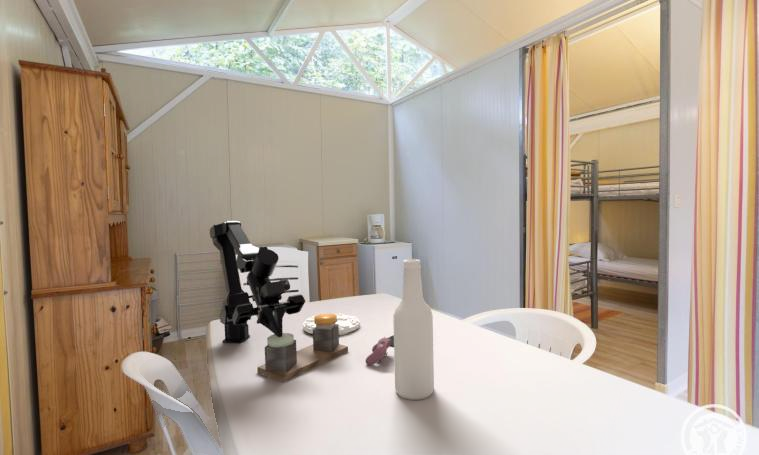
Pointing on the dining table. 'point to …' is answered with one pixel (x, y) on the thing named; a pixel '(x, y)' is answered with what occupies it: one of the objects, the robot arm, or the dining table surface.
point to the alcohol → (413, 338)
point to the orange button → (325, 321)
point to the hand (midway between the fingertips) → (280, 336)
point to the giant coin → (343, 322)
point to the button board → (302, 355)
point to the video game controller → (378, 351)
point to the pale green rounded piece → (280, 340)
